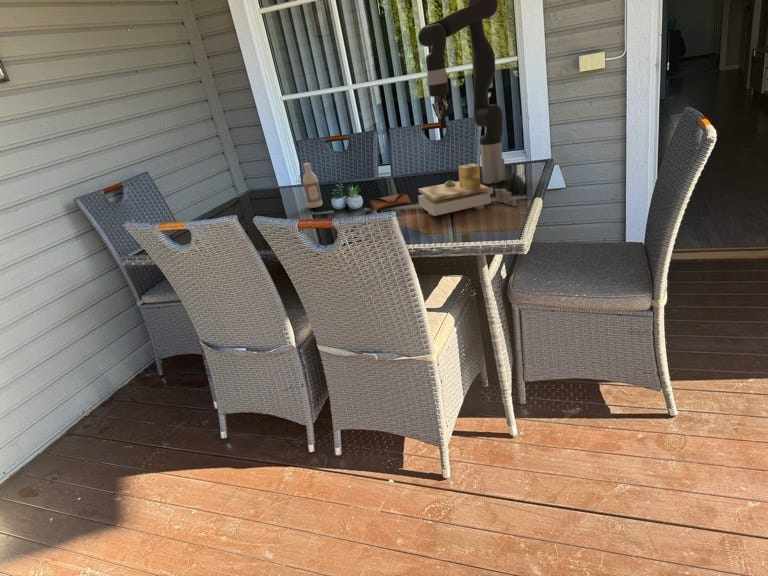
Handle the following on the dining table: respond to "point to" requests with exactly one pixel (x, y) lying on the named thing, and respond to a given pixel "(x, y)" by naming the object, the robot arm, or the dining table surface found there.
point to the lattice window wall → (505, 197)
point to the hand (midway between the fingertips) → (443, 128)
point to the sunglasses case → (389, 201)
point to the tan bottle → (311, 187)
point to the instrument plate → (457, 184)
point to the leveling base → (455, 202)
